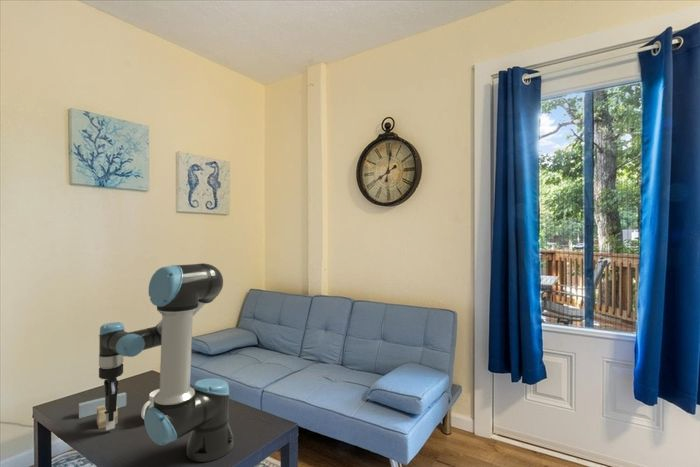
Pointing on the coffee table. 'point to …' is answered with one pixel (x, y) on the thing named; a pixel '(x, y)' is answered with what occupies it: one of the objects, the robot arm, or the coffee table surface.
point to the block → (104, 416)
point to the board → (91, 406)
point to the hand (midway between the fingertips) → (110, 428)
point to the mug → (149, 402)
